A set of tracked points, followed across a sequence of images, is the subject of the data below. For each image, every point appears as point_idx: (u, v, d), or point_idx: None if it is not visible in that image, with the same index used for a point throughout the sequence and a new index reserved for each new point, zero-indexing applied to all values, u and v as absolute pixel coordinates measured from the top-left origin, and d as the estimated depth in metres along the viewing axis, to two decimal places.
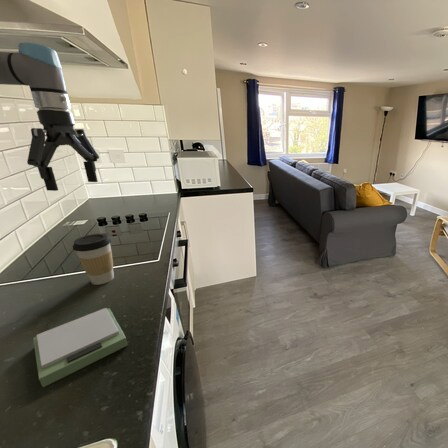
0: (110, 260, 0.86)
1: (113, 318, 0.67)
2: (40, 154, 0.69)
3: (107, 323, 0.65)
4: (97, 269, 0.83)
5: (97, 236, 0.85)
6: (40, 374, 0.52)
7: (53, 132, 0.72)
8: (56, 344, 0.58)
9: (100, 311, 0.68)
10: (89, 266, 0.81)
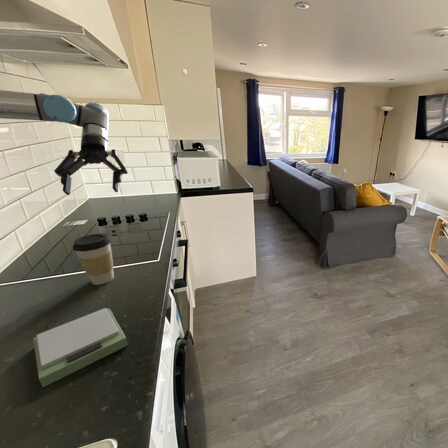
0: (110, 260, 0.86)
1: (113, 318, 0.67)
2: None
3: (107, 323, 0.65)
4: (97, 269, 0.83)
5: (97, 236, 0.85)
6: (40, 374, 0.52)
7: None
8: (56, 344, 0.58)
9: (100, 311, 0.68)
10: (89, 266, 0.81)
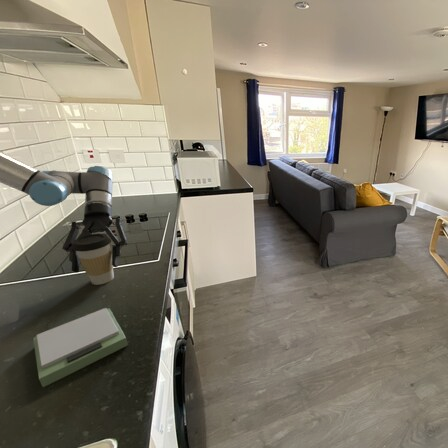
0: (110, 260, 0.86)
1: (113, 318, 0.67)
2: None
3: (107, 323, 0.65)
4: (97, 269, 0.83)
5: (97, 236, 0.85)
6: (40, 374, 0.52)
7: None
8: (56, 344, 0.58)
9: (100, 311, 0.68)
10: (89, 266, 0.81)
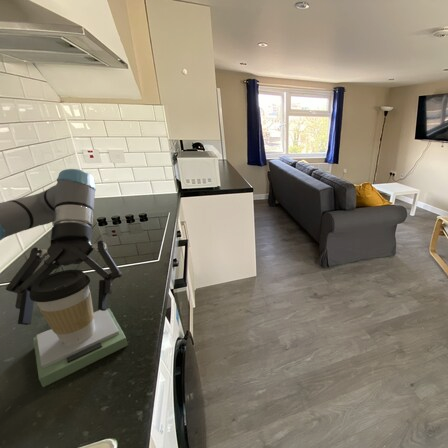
0: (88, 309, 0.59)
1: (113, 318, 0.67)
2: None
3: (107, 323, 0.65)
4: (68, 324, 0.56)
5: (69, 274, 0.58)
6: (40, 374, 0.52)
7: None
8: (56, 344, 0.58)
9: (100, 311, 0.68)
10: (55, 322, 0.55)
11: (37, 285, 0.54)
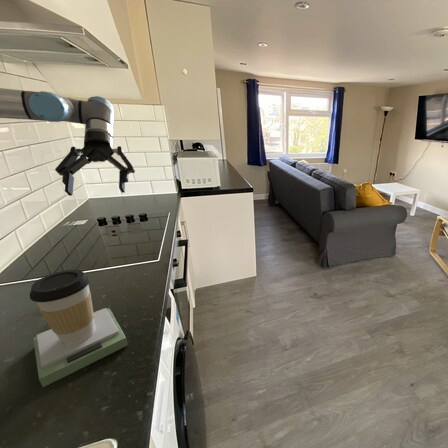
0: (88, 309, 0.59)
1: (113, 318, 0.67)
2: None
3: (107, 323, 0.65)
4: (68, 324, 0.56)
5: (69, 274, 0.58)
6: (40, 374, 0.52)
7: None
8: (56, 344, 0.58)
9: (100, 311, 0.68)
10: (55, 322, 0.55)
11: (37, 285, 0.54)
